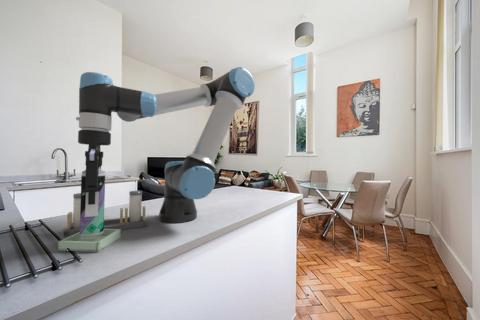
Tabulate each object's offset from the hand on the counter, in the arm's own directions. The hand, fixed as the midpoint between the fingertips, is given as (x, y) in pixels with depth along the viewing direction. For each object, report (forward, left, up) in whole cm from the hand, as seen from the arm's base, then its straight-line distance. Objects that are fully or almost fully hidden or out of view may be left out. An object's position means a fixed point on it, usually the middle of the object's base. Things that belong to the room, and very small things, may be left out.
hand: (92, 213), depth 58 cm
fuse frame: (+4, -14, -9) cm, 17 cm away
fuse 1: (+11, -10, -9) cm, 17 cm away
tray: (0, 0, -9) cm, 9 cm away
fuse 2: (-3, -18, -9) cm, 20 cm away
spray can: (0, 0, -6) cm, 6 cm away
